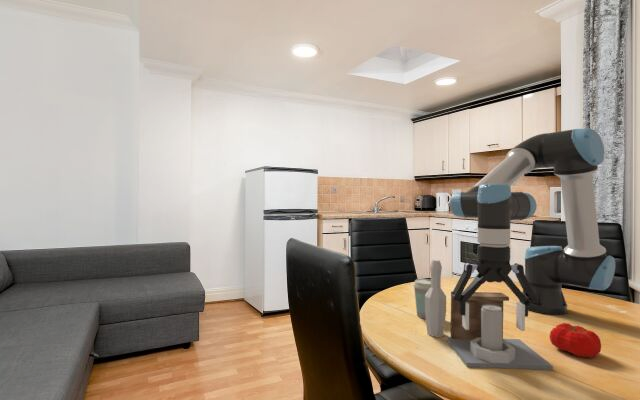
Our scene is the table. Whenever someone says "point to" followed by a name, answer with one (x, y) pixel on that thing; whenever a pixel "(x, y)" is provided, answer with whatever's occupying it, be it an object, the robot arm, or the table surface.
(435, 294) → the low poly bottle
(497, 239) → the robot arm
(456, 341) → the socket board
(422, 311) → the coffee cup
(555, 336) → the tomato
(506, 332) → the table surface
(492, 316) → the beverage can
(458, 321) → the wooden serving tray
